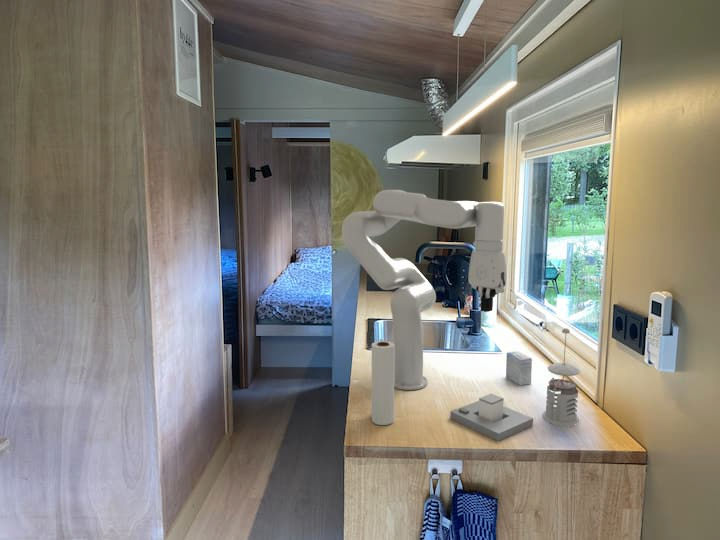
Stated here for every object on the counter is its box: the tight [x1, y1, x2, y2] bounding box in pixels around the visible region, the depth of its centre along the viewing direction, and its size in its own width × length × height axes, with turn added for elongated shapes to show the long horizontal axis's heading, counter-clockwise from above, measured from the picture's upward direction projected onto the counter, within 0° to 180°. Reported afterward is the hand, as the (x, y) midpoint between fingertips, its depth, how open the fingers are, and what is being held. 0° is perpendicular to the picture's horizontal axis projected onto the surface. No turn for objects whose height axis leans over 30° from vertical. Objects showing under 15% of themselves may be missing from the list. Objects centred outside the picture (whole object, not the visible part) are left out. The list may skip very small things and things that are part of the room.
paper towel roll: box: [371, 339, 395, 426], centre depth 134 cm, size 7×6×21 cm
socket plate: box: [449, 400, 534, 442], centre depth 134 cm, size 16×14×3 cm
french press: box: [541, 327, 581, 427], centre depth 134 cm, size 10×12×25 cm
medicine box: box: [505, 350, 533, 386], centre depth 163 cm, size 8×4×9 cm, turn 16°
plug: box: [478, 393, 505, 423], centre depth 134 cm, size 4×5×6 cm
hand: (486, 310), depth 143 cm, fingers closed
